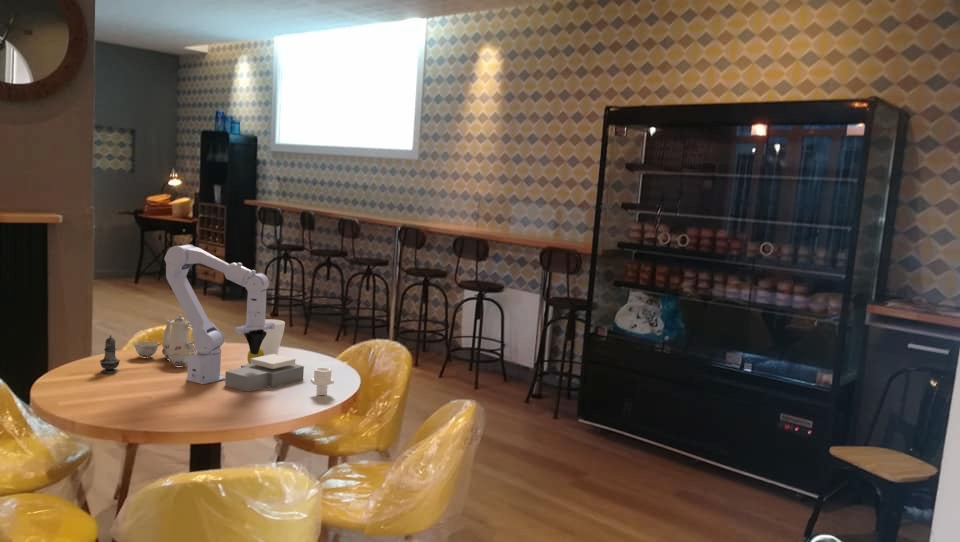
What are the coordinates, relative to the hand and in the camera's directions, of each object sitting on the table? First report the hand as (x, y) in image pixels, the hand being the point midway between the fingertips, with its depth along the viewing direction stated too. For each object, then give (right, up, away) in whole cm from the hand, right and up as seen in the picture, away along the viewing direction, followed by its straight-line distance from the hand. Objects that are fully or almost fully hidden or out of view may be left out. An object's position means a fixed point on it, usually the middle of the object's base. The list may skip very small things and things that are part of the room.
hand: (254, 353), depth 225 cm
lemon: (-6, -8, +19) cm, 21 cm away
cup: (-6, -6, +35) cm, 36 cm away
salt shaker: (-47, -6, +1) cm, 47 cm away
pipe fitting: (+23, -12, -6) cm, 27 cm away
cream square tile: (+4, -4, +6) cm, 9 cm away
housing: (+2, -9, +3) cm, 10 cm away
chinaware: (-36, -5, +21) cm, 42 cm away
